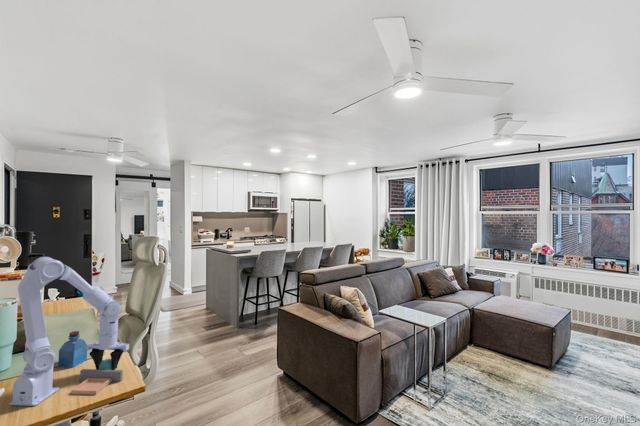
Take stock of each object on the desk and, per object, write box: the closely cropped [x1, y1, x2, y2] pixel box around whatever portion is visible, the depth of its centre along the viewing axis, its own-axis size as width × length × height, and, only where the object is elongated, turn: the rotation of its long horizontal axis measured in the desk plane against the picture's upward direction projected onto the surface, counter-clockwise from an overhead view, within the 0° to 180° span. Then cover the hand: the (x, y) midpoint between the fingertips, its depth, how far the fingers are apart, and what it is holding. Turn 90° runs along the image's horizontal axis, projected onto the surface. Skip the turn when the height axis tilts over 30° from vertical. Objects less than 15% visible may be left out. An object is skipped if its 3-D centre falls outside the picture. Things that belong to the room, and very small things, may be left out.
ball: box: [99, 358, 112, 370], centre depth 118 cm, size 5×5×5 cm
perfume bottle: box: [57, 330, 88, 369], centre depth 124 cm, size 6×6×12 cm
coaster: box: [70, 378, 113, 396], centre depth 108 cm, size 8×8×1 cm
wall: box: [79, 368, 124, 383], centre depth 112 cm, size 1×14×4 cm, turn 92°
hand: (106, 369), depth 118 cm, fingers closed on ball, 5 cm apart
